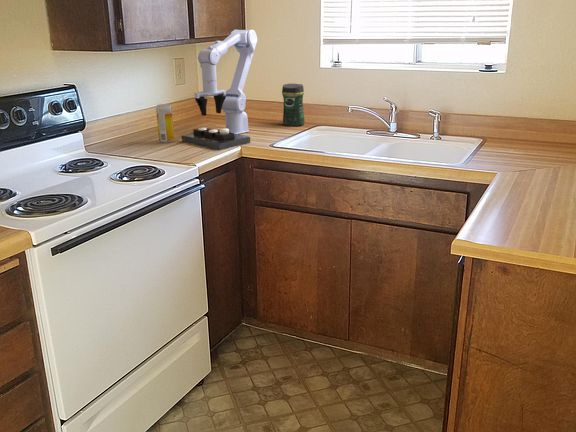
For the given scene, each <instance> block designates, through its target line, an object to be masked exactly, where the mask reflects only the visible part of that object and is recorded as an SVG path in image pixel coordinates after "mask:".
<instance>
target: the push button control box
mask: <svg viewBox="0 0 576 432" xmlns="http://www.w3.org/2000/svg"><path fill="white" fill-rule="evenodd" d="M198 128H199V127H198ZM198 128H193V129H192V132H193V133H192V132H191V133H186V134H182V135H181V142H183V143H187V144H191V145H196V146H201V147H205V148H209V149H212V150H213V149H214V150H219V151H222V150H225V149H231V148H235V147H238V146H243V145H247V144H250V143H251V136H248V135H242V134H234V133H230V132H229V134H227V135H220V129H219V130H218V129H217V130H218V132H214V133H210V132H209V130H214V129H213V128H210V127H206V128H207V130H202V131H201V130H198ZM201 128H205V127H201ZM234 146H235V147H234ZM230 147H231V148H230Z"/></svg>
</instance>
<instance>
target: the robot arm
mask: <svg viewBox="0 0 576 432" xmlns="http://www.w3.org/2000/svg"><path fill="white" fill-rule="evenodd" d="M257 43H258V36H257V33H256V31H255V30H254V29H233V31H230V35H228V36H227V37H226V38H224V39H223V40H215V41H214V43H213V44H211V45H208V46H207V48H206V49H201V50H200V51H199V53H198V56H197V60H198V63H199V65H200V66H199V67H200V68H201V76H202V77H201V78H202V79H201V80H202V91H199V92H194V101H195V102H196V103H197V105H198V107H199V110H200V113H201V116H203V117H205V116H207V106H208V105H207V103H208V97H213V100H214V102H215V103H214V104H215V112H216V114H221V113H222V111H223V113H224V117H225V118H224V119H225V128H227V129H229V132H230V133H234V134H239V135H241V134H245V133H248V132H250V130H249V119H248V114H247V113H246V112H245V111H244V110H245V109H246V104H247V103H246V102H247V96H246V94H245V93H244V87H245V84H246V81H247V79H248V73H249V71H250V68H251V63H252V60H253V57H254V53H255V50H256V46H257ZM233 46H234V48H235V50H236V52H237V53H239V57H238V61H237V64H236V67H235V72H234V74H233V79H232V81H231V85H230V87H229V88H228V89H227V90H226V89H218V81H217V80H218V79H217V64H218V63H219V61H220V58H222V57H223V56H225V55H226V54H228V49H229V48H232V47H233Z"/></svg>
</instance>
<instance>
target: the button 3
mask: <svg viewBox="0 0 576 432" xmlns="http://www.w3.org/2000/svg"><path fill="white" fill-rule="evenodd" d="M219 130H220V135H227V134H229V129H227V128H226V127H224V128H219Z"/></svg>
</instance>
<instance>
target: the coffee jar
mask: <svg viewBox="0 0 576 432" xmlns="http://www.w3.org/2000/svg"><path fill="white" fill-rule="evenodd" d="M304 94H305V90H304V85H303V84H302V83H284V84H283V85H282V88H281V95H282V98H283V99H282V100H283V112H282V113H283V114H282V124H283V125H284V126H287V127H289V126H290V127H296V126H297V127H298V126H303V125H304V124H305V114H304V113H305V112H304V105H303V104H304V102H303V97H304Z"/></svg>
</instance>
